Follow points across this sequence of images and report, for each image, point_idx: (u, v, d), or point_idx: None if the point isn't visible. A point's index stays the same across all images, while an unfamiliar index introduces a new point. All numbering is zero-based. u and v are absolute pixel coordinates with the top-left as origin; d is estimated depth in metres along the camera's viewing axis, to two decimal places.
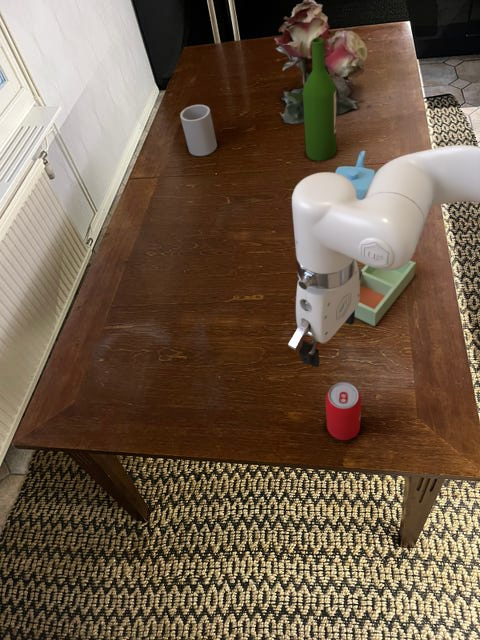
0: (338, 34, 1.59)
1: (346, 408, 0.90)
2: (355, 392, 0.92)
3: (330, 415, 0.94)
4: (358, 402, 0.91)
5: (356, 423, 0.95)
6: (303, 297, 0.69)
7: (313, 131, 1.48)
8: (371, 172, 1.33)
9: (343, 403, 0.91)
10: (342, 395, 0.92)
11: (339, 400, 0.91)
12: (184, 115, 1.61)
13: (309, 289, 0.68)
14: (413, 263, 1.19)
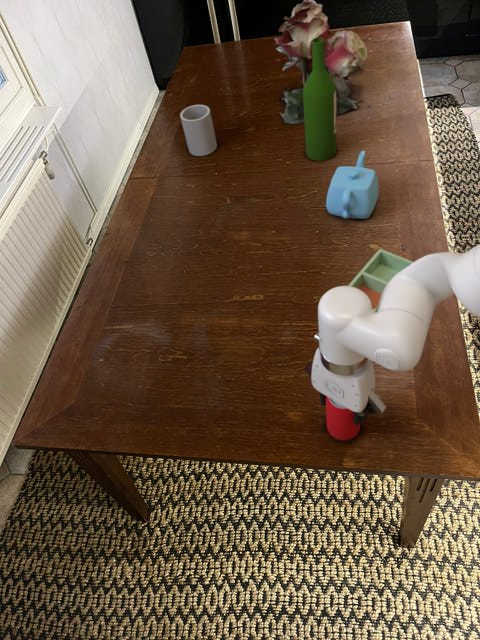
0: (338, 34, 1.59)
1: (346, 408, 0.90)
2: None
3: (330, 415, 0.94)
4: None
5: None
6: None
7: (313, 131, 1.48)
8: (371, 172, 1.33)
9: None
10: None
11: None
12: (183, 115, 1.61)
13: None
14: None
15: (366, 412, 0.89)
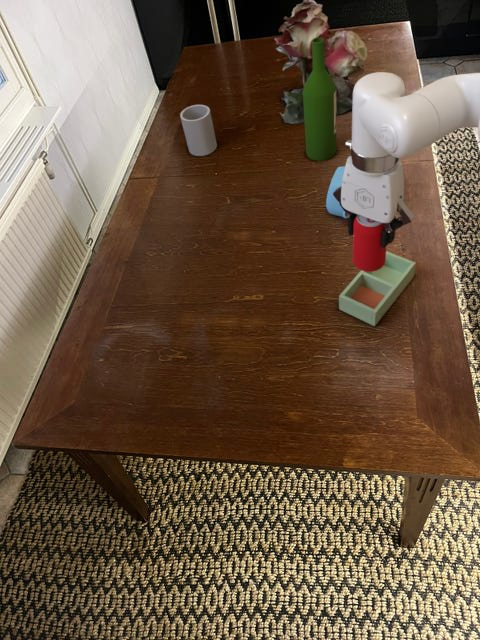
0: (338, 34, 1.59)
1: (374, 226, 0.94)
2: None
3: (358, 239, 0.97)
4: None
5: (383, 249, 0.98)
6: None
7: (313, 131, 1.48)
8: None
9: (372, 222, 0.94)
10: None
11: (367, 220, 0.95)
12: (183, 115, 1.61)
13: None
14: (413, 263, 1.19)
15: (394, 227, 0.92)
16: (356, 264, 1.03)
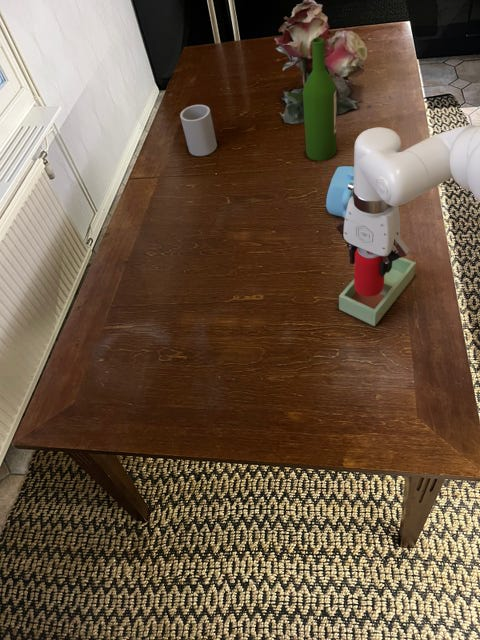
0: (338, 34, 1.59)
1: (373, 257, 1.04)
2: None
3: (359, 268, 1.07)
4: None
5: (381, 277, 1.09)
6: None
7: (313, 131, 1.48)
8: None
9: (371, 253, 1.04)
10: None
11: (367, 252, 1.05)
12: (183, 115, 1.61)
13: None
14: (413, 263, 1.19)
15: (391, 259, 1.03)
16: (357, 289, 1.13)
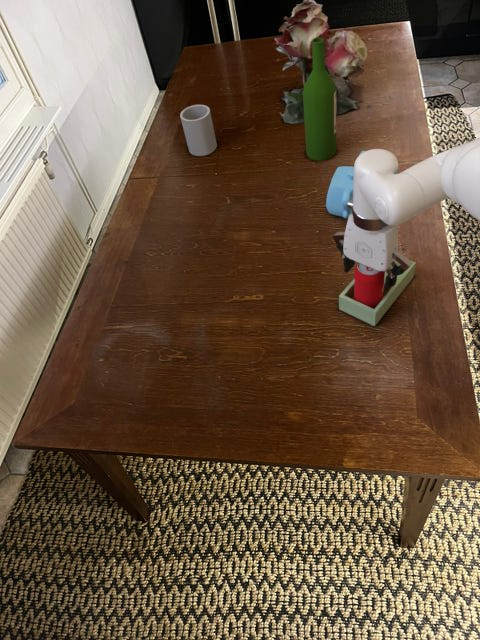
0: (338, 34, 1.59)
1: (373, 274, 1.08)
2: None
3: (359, 284, 1.11)
4: None
5: (380, 293, 1.12)
6: None
7: (313, 131, 1.48)
8: None
9: (370, 270, 1.08)
10: None
11: (366, 269, 1.09)
12: (183, 115, 1.61)
13: None
14: (413, 263, 1.19)
15: (396, 273, 1.04)
16: None
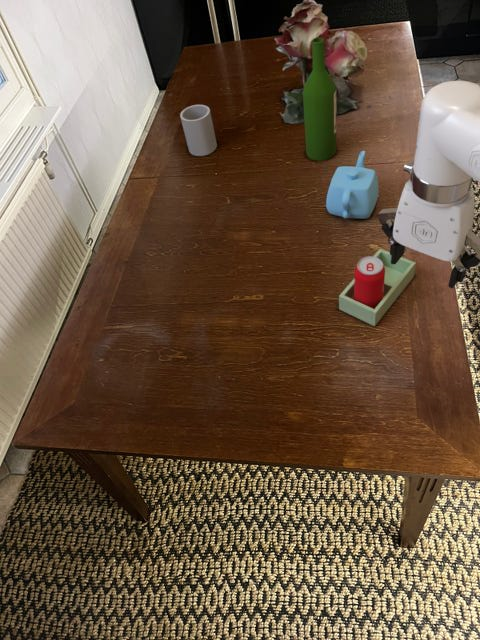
0: (338, 34, 1.59)
1: (373, 274, 1.08)
2: (380, 263, 1.09)
3: (359, 284, 1.11)
4: (383, 270, 1.09)
5: (380, 293, 1.12)
6: None
7: (313, 131, 1.48)
8: (371, 172, 1.33)
9: (370, 270, 1.08)
10: (369, 265, 1.09)
11: (366, 269, 1.09)
12: (183, 115, 1.61)
13: None
14: (413, 263, 1.19)
15: (468, 265, 0.76)
16: None
